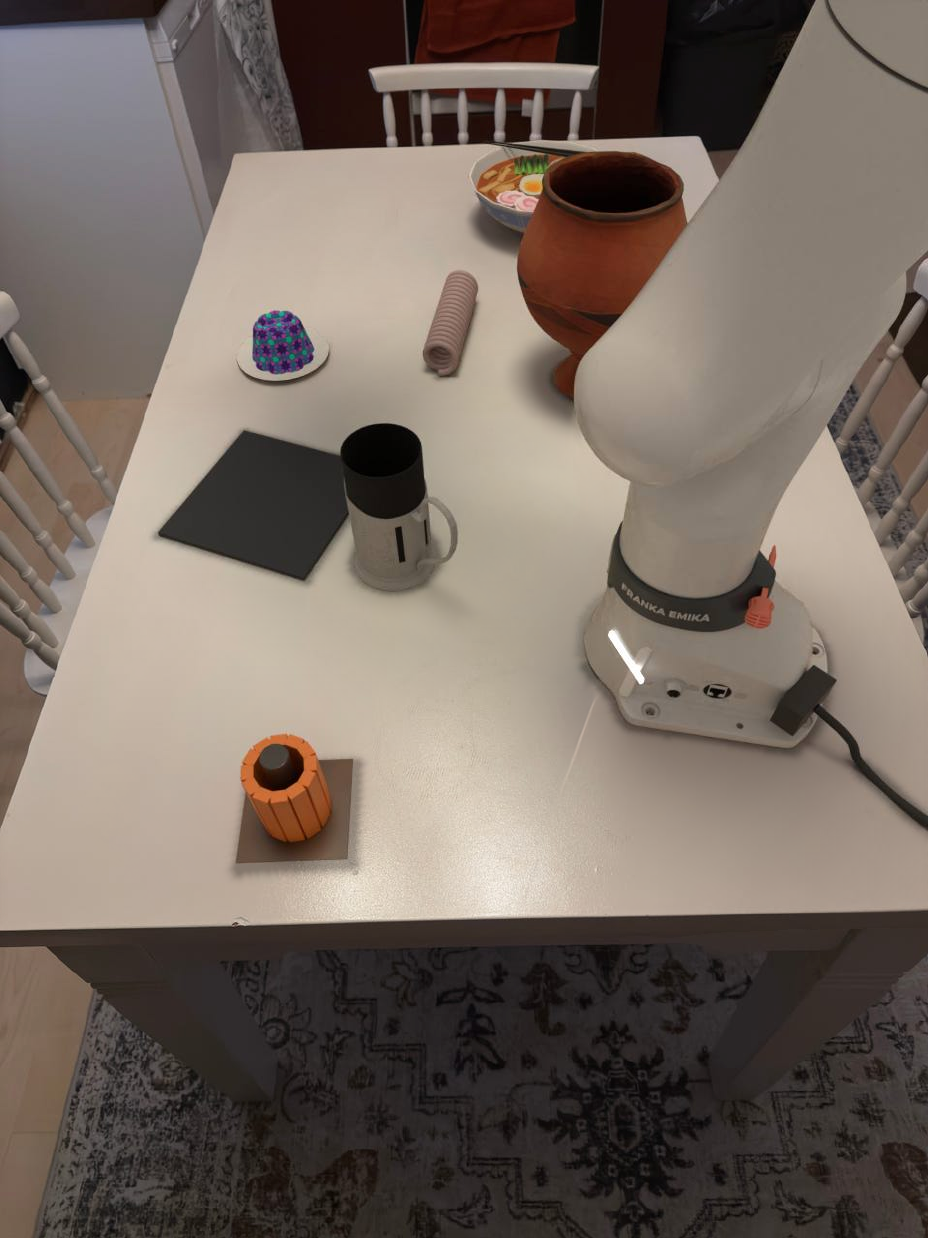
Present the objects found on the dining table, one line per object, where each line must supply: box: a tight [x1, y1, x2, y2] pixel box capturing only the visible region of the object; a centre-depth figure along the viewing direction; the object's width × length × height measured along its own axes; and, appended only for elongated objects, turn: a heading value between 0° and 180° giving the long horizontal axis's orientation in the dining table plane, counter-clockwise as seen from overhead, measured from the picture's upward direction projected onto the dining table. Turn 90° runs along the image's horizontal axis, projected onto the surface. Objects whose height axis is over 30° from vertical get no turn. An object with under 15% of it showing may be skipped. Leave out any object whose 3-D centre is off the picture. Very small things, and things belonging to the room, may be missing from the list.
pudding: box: [236, 310, 330, 382], centre depth 108 cm, size 12×12×5 cm
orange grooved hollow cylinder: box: [240, 733, 331, 842], centre depth 67 cm, size 6×6×8 cm
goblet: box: [516, 150, 689, 399], centre depth 95 cm, size 19×19×25 cm
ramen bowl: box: [468, 139, 600, 234], centre depth 126 cm, size 25×23×8 cm
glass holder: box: [339, 422, 459, 592], centre depth 81 cm, size 9×14×15 cm, turn 43°
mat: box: [157, 429, 349, 582], centre depth 93 cm, size 18×18×1 cm
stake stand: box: [235, 744, 354, 864], centre depth 66 cm, size 9×9×10 cm
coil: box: [422, 269, 479, 377], centre depth 110 cm, size 5×5×18 cm
